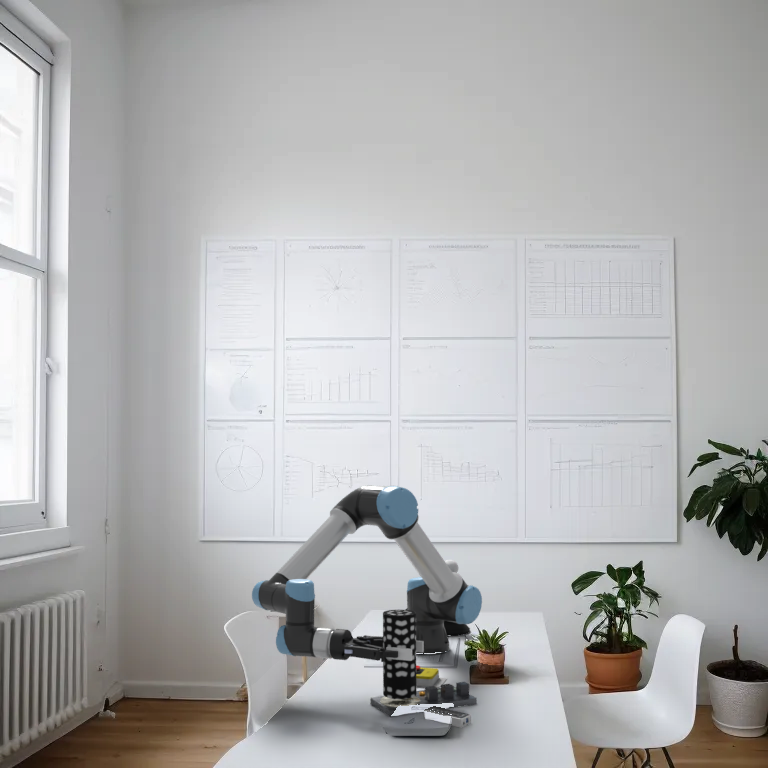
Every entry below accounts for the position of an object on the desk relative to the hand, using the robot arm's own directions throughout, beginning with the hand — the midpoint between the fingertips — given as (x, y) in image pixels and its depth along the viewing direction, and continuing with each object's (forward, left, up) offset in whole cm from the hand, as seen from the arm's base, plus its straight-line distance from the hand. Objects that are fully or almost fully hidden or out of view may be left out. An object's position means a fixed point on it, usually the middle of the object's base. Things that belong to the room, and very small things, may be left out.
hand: (417, 650), depth 208 cm
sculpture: (-46, -77, -14) cm, 91 cm away
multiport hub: (-2, +11, -15) cm, 18 cm away
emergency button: (-11, -23, -15) cm, 29 cm away
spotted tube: (+3, -3, -11) cm, 12 cm away
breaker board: (-3, -3, -14) cm, 15 cm away
